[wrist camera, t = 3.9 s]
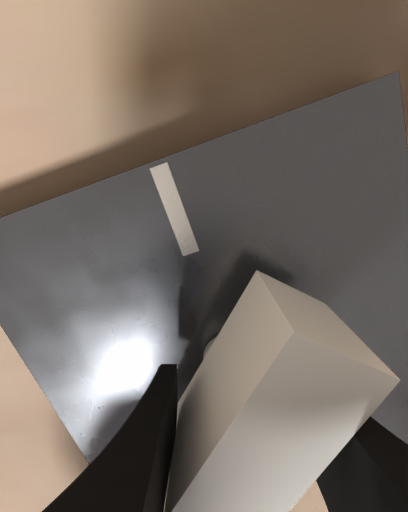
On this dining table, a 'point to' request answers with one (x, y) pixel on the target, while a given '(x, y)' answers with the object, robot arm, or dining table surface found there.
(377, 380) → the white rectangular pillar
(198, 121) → the dining table surface
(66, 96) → the dining table surface
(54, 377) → the base
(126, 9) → the dining table surface
